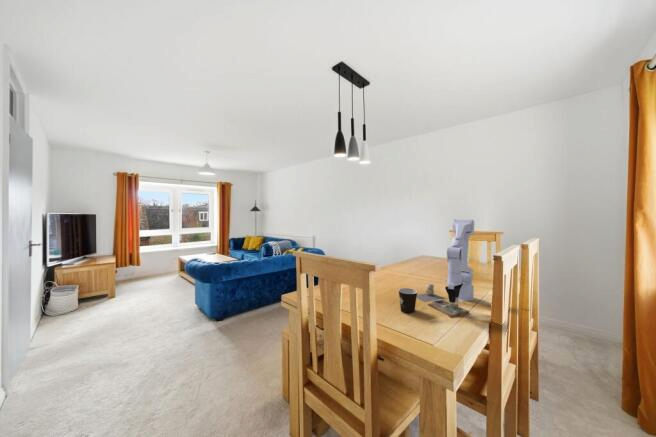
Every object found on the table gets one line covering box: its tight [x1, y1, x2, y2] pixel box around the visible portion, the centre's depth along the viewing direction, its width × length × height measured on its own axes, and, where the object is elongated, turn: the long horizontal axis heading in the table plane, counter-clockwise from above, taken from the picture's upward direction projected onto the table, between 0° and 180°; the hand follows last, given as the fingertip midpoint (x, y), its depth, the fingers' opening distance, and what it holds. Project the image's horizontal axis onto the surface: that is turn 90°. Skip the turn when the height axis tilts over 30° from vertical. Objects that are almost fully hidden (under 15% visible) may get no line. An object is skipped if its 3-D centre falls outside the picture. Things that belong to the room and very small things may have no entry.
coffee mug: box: [398, 287, 418, 315], centre depth 120 cm, size 12×9×10 cm
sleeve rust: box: [425, 283, 435, 296], centre depth 139 cm, size 4×4×6 cm
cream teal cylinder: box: [448, 297, 459, 311], centre depth 117 cm, size 4×4×6 cm
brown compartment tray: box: [427, 299, 470, 318], centre depth 121 cm, size 12×14×2 cm
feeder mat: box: [416, 292, 445, 303], centre depth 137 cm, size 14×10×1 cm
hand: (453, 299), depth 117 cm, fingers open, 7 cm apart
